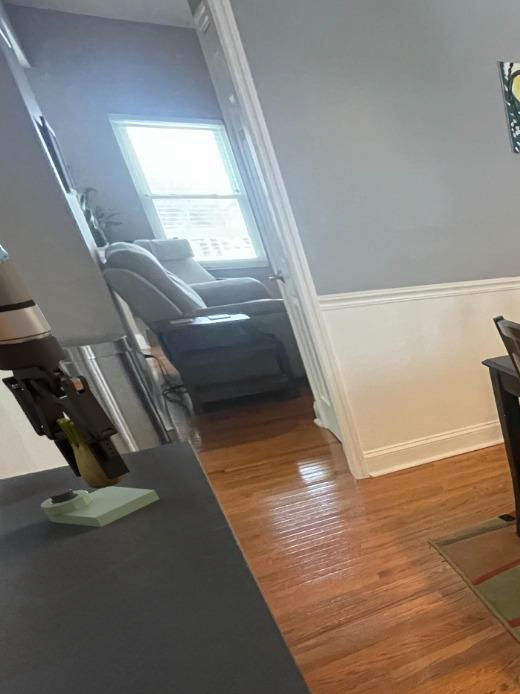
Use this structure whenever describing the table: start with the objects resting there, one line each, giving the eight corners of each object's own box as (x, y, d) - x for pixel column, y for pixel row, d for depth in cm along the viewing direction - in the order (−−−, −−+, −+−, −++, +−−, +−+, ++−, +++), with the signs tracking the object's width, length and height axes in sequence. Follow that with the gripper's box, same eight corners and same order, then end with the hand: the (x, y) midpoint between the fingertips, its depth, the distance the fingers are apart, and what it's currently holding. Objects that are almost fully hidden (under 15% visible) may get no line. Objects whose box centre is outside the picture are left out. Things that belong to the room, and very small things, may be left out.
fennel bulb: (92, 483, 101) (49, 418, 95) (130, 473, 104) (91, 409, 98) (88, 495, 97) (44, 428, 91) (128, 484, 100) (88, 419, 94)
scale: (44, 523, 99) (31, 505, 97) (109, 494, 107) (98, 477, 106) (97, 529, 97) (85, 511, 95) (159, 499, 105) (149, 482, 103)
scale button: (50, 503, 99) (44, 495, 98) (69, 495, 101) (63, 487, 100) (62, 504, 98) (56, 496, 97) (80, 496, 100) (75, 488, 100)
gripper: (-63, 344, 87) (33, 481, 98) (34, 347, 83) (122, 489, 94) (3, 330, 94) (86, 460, 104) (95, 332, 90) (171, 467, 101)
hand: (103, 473), depth 99 cm, fingers closed on fennel bulb, 6 cm apart
